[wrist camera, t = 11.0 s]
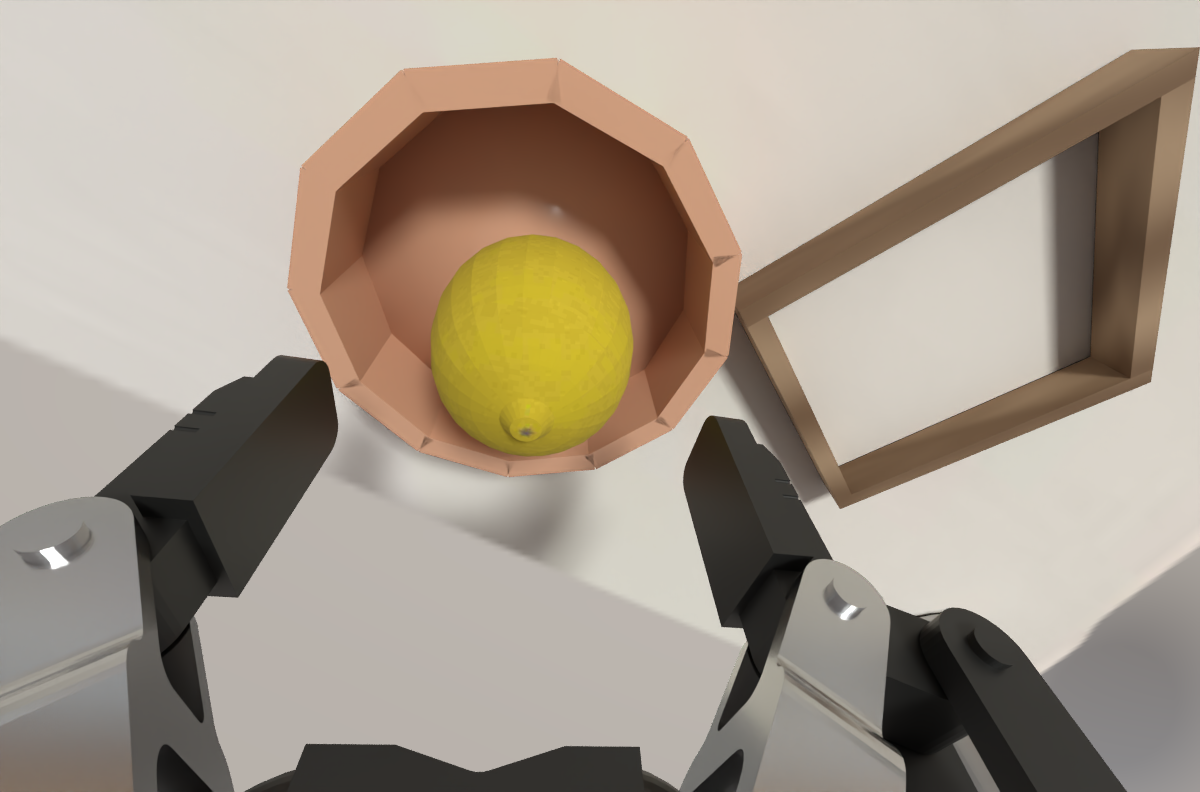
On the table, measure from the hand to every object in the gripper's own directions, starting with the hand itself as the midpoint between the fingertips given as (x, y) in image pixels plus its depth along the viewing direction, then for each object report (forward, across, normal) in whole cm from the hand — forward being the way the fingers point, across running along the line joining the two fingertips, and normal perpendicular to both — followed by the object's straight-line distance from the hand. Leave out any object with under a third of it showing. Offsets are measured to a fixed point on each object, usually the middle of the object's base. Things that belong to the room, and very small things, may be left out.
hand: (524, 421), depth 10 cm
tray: (+9, -17, -1) cm, 19 cm away
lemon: (+8, 0, 0) cm, 8 cm away
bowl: (+8, 0, 0) cm, 9 cm away
